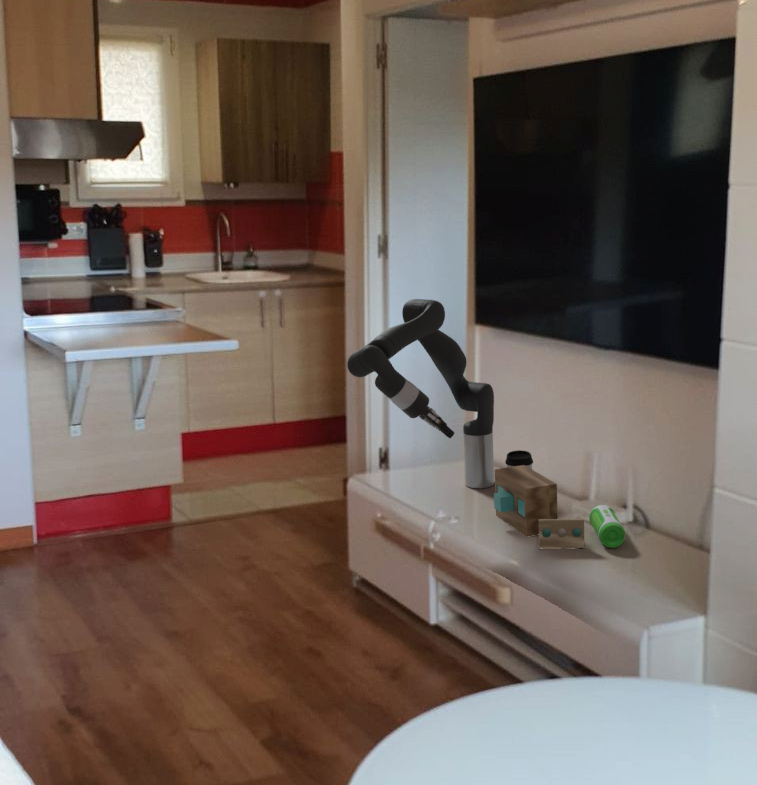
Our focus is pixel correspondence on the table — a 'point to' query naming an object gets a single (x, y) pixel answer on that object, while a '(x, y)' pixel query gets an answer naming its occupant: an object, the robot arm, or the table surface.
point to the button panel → (527, 497)
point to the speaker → (607, 526)
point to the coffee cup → (519, 459)
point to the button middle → (504, 501)
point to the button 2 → (521, 507)
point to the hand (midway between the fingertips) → (451, 435)
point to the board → (561, 533)
